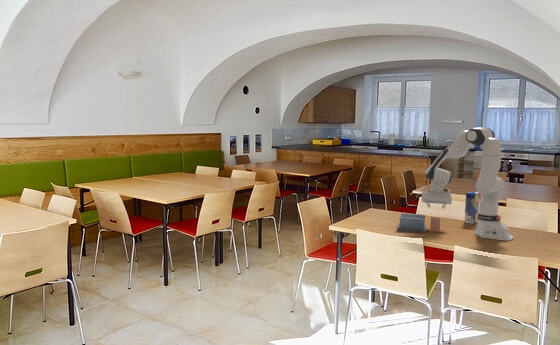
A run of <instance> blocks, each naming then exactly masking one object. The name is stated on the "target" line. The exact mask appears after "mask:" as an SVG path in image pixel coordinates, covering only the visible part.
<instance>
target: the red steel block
mask: <svg viewBox="0 0 560 345" xmlns="http://www.w3.org/2000/svg"><path fill="white" fill-rule="evenodd" d="M429 227H430V228H429V231H430V232H435V233H440V231H441V230H440V229H441V228H440V227H441V217H437V216H436V217H435V216H430V226H429Z"/></svg>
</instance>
